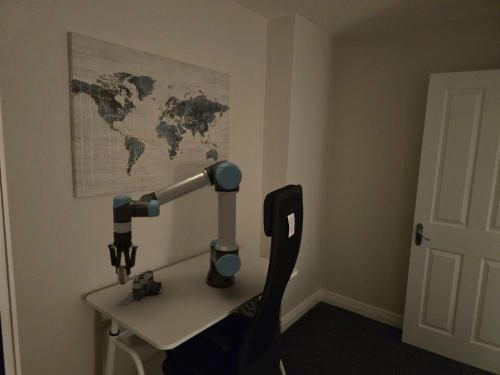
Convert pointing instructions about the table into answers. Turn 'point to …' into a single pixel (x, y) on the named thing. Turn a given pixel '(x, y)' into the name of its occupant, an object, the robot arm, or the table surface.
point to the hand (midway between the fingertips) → (123, 281)
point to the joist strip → (126, 299)
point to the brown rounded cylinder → (121, 274)
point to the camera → (145, 285)
